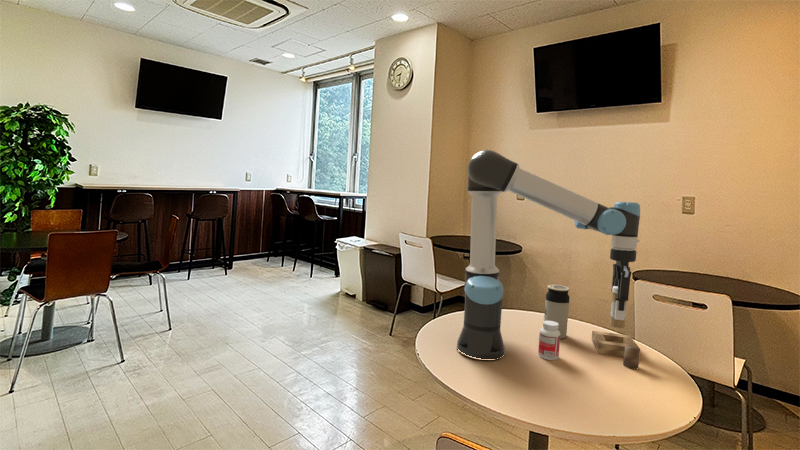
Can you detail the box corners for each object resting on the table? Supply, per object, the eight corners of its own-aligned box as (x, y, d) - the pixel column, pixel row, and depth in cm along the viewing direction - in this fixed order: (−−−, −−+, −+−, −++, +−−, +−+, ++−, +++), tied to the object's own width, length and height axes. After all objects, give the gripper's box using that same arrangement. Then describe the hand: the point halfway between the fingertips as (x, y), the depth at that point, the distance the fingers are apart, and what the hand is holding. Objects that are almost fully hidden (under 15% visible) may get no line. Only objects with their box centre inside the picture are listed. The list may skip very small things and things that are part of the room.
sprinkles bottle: (627, 327, 134) (630, 287, 133) (620, 329, 132) (623, 289, 131) (613, 323, 138) (617, 284, 137) (606, 325, 136) (609, 286, 134)
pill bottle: (549, 351, 132) (552, 318, 130) (562, 359, 126) (565, 325, 125) (533, 353, 129) (536, 320, 128) (546, 361, 124) (549, 327, 123)
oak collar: (597, 353, 132) (598, 343, 131) (591, 340, 143) (592, 330, 143) (638, 359, 128) (639, 348, 128) (628, 345, 140) (629, 335, 140)
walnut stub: (625, 368, 122) (626, 349, 121) (621, 362, 125) (623, 344, 125) (639, 370, 120) (641, 351, 120) (636, 364, 124) (638, 346, 124)
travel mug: (568, 334, 148) (572, 286, 146) (563, 341, 141) (568, 291, 140) (545, 329, 152) (549, 283, 150) (540, 335, 146) (544, 287, 144)
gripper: (644, 253, 123) (637, 327, 125) (629, 245, 140) (623, 311, 142) (617, 251, 125) (610, 324, 127) (605, 244, 142) (600, 308, 144)
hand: (617, 317), depth 135 cm, fingers closed on sprinkles bottle, 4 cm apart
